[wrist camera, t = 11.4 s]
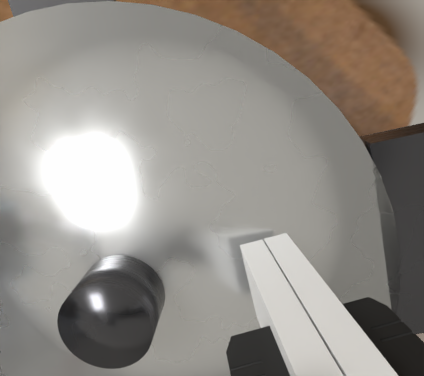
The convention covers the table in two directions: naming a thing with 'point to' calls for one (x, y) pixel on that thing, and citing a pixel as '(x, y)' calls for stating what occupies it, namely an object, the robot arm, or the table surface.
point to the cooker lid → (178, 191)
